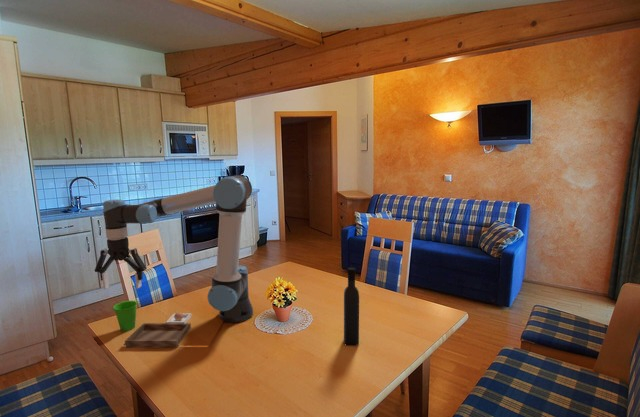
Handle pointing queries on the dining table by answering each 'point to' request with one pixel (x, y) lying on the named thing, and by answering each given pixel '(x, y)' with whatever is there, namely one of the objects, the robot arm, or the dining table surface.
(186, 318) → the dish
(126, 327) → the cup
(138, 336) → the tray
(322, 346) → the dining table surface
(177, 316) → the ball
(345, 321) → the wine bottle
